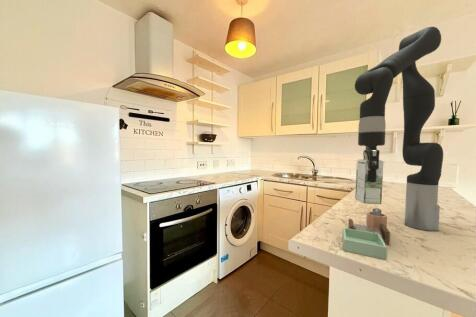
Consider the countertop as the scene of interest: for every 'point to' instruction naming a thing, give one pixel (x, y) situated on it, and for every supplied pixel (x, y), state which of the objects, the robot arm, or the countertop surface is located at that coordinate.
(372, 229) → the plate
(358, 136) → the robot arm
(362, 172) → the syrup box
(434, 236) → the countertop surface
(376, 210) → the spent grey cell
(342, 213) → the countertop surface
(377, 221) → the cup
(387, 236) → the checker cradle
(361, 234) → the trough
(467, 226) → the countertop surface
